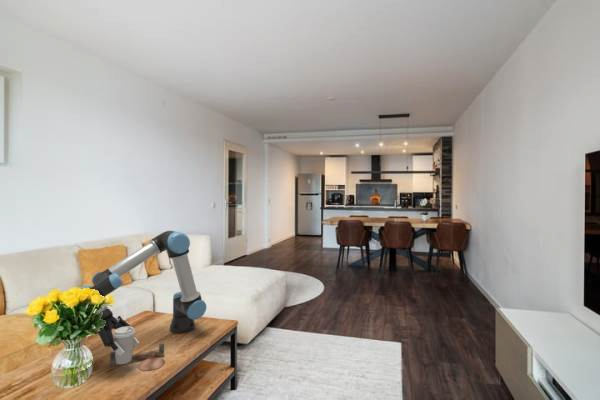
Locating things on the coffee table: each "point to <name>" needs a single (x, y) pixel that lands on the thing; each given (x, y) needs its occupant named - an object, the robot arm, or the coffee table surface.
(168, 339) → the coffee table surface
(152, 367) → the rail
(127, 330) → the coffee cup
